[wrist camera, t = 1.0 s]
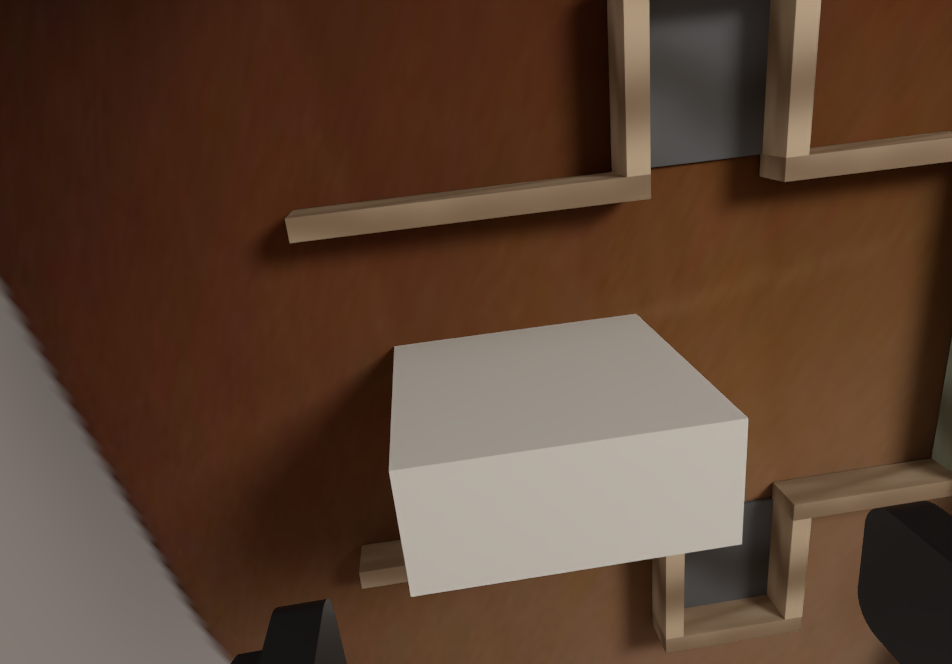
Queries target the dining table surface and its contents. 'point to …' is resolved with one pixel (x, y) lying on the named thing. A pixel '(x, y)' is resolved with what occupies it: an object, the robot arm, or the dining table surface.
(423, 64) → the dining table surface
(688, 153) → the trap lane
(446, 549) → the block
